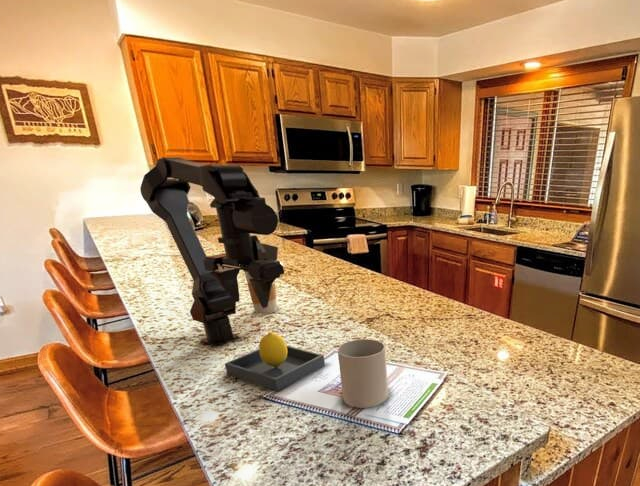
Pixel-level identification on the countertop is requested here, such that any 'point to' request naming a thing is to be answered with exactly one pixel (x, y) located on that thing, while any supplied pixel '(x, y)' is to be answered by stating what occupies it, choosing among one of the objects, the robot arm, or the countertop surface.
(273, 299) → the coffee cup
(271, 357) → the lemon
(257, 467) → the countertop surface
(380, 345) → the cup
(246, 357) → the tray
